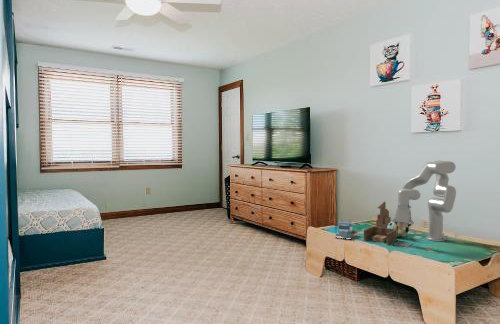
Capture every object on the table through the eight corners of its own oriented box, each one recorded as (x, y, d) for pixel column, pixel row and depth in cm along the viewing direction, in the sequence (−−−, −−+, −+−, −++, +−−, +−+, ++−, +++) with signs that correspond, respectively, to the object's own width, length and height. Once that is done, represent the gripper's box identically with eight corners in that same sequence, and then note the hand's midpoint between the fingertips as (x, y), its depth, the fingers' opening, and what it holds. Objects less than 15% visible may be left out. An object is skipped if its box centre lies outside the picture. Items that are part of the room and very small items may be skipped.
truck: (335, 239, 279) (335, 220, 278) (338, 230, 306) (338, 212, 306) (351, 240, 275) (351, 221, 274) (352, 231, 303) (352, 213, 302)
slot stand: (396, 240, 274) (396, 229, 273) (387, 245, 261) (388, 234, 260) (373, 235, 286) (373, 226, 285) (363, 240, 273) (363, 230, 273)
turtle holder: (398, 240, 272) (398, 225, 271) (383, 234, 289) (383, 220, 289) (412, 239, 275) (412, 224, 274) (396, 233, 292) (397, 219, 292)
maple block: (407, 233, 261) (407, 222, 261) (405, 234, 257) (405, 223, 257) (400, 232, 264) (400, 221, 264) (397, 233, 261) (398, 222, 260)
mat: (412, 244, 262) (412, 243, 262) (407, 247, 254) (407, 246, 254) (398, 241, 269) (398, 241, 269) (393, 244, 261) (393, 244, 261)
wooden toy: (395, 232, 297) (395, 202, 295) (391, 233, 292) (391, 203, 291) (378, 228, 308) (378, 200, 307) (374, 230, 304) (374, 200, 303)
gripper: (417, 207, 257) (416, 232, 258) (393, 204, 268) (392, 229, 269) (414, 209, 251) (413, 234, 252) (389, 206, 263) (389, 230, 264)
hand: (402, 231), depth 261 cm, fingers closed on maple block, 5 cm apart
